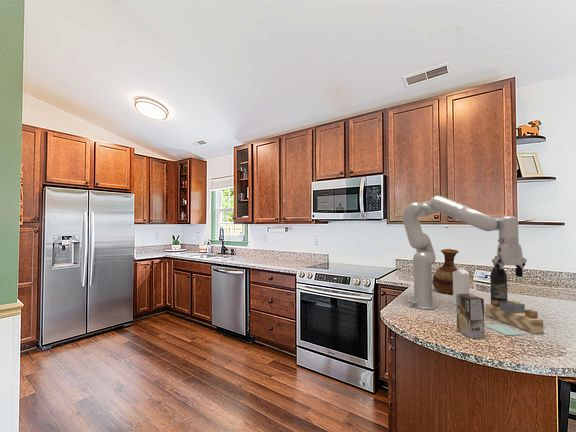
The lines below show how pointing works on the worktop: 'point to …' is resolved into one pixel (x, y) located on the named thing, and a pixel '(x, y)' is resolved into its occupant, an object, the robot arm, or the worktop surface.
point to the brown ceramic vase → (445, 272)
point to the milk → (460, 282)
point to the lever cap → (512, 307)
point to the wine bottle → (498, 286)
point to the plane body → (516, 318)
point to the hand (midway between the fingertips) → (509, 276)
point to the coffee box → (470, 315)
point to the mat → (504, 329)
